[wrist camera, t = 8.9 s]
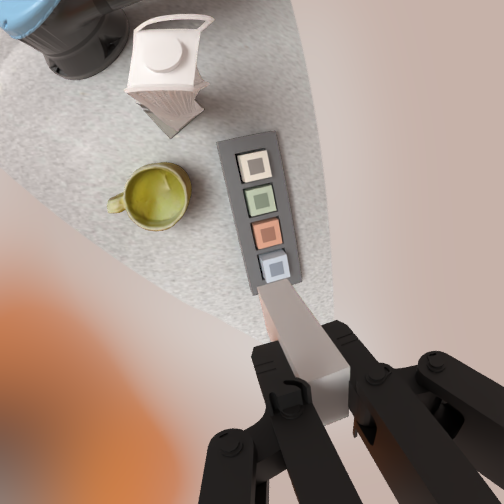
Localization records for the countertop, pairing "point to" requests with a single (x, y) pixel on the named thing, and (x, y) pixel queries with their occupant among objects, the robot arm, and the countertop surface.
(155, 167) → the mug
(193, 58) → the skyscraper
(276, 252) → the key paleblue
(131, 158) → the countertop surface
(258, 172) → the key ivory
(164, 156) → the countertop surface
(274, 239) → the key terracotta
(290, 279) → the keyguard frame
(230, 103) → the countertop surface
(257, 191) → the key sage
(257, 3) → the countertop surface
